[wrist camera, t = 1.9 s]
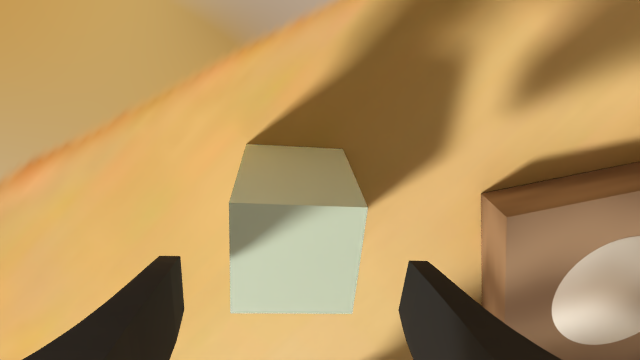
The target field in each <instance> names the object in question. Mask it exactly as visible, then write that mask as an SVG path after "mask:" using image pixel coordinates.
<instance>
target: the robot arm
mask: <svg viewBox="0 0 640 360" xmlns="http://www.w3.org/2000/svg"><path fill="white" fill-rule="evenodd" d="M183 312H184V300H183V287H182V273H181V260H180V256H159V257H158V258H157V259H155V260H154V261H153V262H152V263H151V264H150V265H148V266H147V267H146V268H145V269H144V270H143V271H142V272H141V273H139V274H138V275H137V276H136V277H135V278H134V279H133V280H132V281H130V282H129V283H128V284H127V285H126V286H125V287H124V288H122V289H121V290H120V291H119V292H118V293H116V294H115V295H114V296H113V297H112V298H111V299H109V300H108V301H107V302H106V303H104V304H103V305H102V306H101V307H99V308H98V309H97V310H95V311H94V312H93V313H92V314H90V315H89V316H88V317H86V318H85V319H84V320H83V321H81V322H80V323H78V324H77V325H76V326H74V327H73V328H71V329H70V330H68V331H67V332H66V333H64V334H63V335H61V336H60V337H58V338H57V339H55V340H54V341H52V342H50V343H49V344H47V345H46V346H44V347H43V348H41V349H40V350H38V351H36V352H35V353H33V354H31V355H29V356H28V357H26V358H24V359H23V360H169V359H170V357H171V354H172V351H173V349H174V346H175V343H176V341H177V337H178V333H179V329H180V325H181V321H182V316H183ZM399 314H400V318H401V322H402V327H403V331H404V334H405V338H406V341H407V344H408V347H409V349H410V352H411V355H412V357H413V360H562V359H560V358H558V357H556V356H555V355H553V354H551V353H550V352H548V351H546V350H545V349H543V348H541V347H540V346H538V345H536V344H535V343H533V342H532V341H530V340H529V339H527V338H526V337H524V336H522V335H521V334H519V333H518V332H516V331H515V330H513V329H512V328H511V327H509V326H508V325H506V324H505V323H504V322H502V321H501V320H499V319H498V318H497V317H495V316H494V315H493V314H491V313H490V312H489V311H487V310H486V309H485V308H484V307H482V306H481V305H480V304H478V303H477V302H476V301H475V300H473V299H472V298H471V297H470V296H469V295H467V294H466V293H465V292H464V291H463V290H461V289H460V288H459V287H458V286H457V285H455V284H454V283H453V282H452V281H451V280H450V279H448V278H447V277H446V276H445V275H444V274H442V273H441V272H440V271H439V270H438V269H437V268H435V267H434V266H433V265H432V264H430V263H429V262H428V261H409V263H408V268H407V273H406V277H405V282H404V287H403V292H402V296H401V301H400V306H399Z"/></svg>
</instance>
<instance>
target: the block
mask: <svg viewBox="0 0 640 360" xmlns="http://www.w3.org/2000/svg"><path fill="white" fill-rule="evenodd" d="M367 211H368V206H367V204H366V202H365V199H364V197H363V195H362V192H361V190H360V188H359V185H358V183H357V181H356V178H355V176H354V174H353V171H352V169H351V167H350V164H349V162H348V160H347V157H346V155H345V153H344V150H343V149H335V148H315V147H296V146H277V145H258V144H246V147H245V150H244V154H243V157H242V161H241V164H240V167H239V171H238V174H237V178H236V181H235V184H234V188H233V191H232V194H231V198H230V201H229V236H230V313H307V314H352V312H353V305H354V299H355V292H356V285H357V278H358V272H359V265H360V258H361V251H362V245H363V238H364V231H365V224H366V218H367Z"/></svg>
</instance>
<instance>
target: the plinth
mask: <svg viewBox="0 0 640 360" xmlns="http://www.w3.org/2000/svg"><path fill="white" fill-rule="evenodd" d="M481 238H482V307H484V308H485V309H486V310H487V311H489V312H490V313H491V314H493V315H494V316H495V317H497V318H498V319H499V320H501V321H502V322H504V323H505V324H506V325H508V326H509V327H511V328H512V329H513V330H515V331H516V332H518V333H519V334H521V335H522V336H524V337H526V338H527V339H529V340H530V341H532V342H533V343H535V344H536V345H538V346H540V347H541V348H543V349H545V350H546V351H548V352H550V353H551V354H553V355H555V356H556V357H558V358H560V359H562V360H640V162H636V163H631V164H626V165H621V166H616V167H611V168H606V169H601V170H596V171H591V172H586V173H581V174H576V175H571V176H566V177H561V178H556V179H551V180H546V181H541V182H536V183H531V184H526V185H522V186H517V187H512V188H507V189H502V190H497V191H492V192H487V193H482V194H481Z"/></svg>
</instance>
